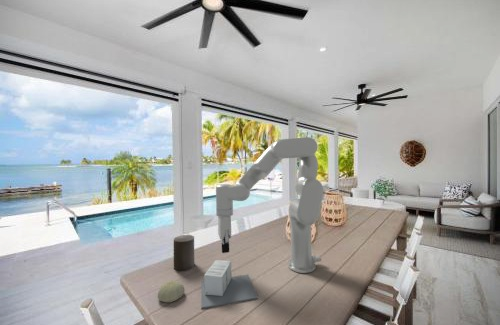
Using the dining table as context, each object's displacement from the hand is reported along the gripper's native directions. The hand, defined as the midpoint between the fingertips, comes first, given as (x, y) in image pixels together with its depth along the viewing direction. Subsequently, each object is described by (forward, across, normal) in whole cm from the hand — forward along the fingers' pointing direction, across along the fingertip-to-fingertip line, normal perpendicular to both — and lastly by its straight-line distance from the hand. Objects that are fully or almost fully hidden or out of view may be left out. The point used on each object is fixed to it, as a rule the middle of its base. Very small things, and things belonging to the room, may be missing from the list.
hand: (225, 251), depth 94 cm
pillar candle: (+10, -12, -19) cm, 24 cm away
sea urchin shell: (+10, +11, -22) cm, 27 cm away
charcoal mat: (+9, +14, -1) cm, 17 cm away
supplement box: (+5, +5, -2) cm, 7 cm away
